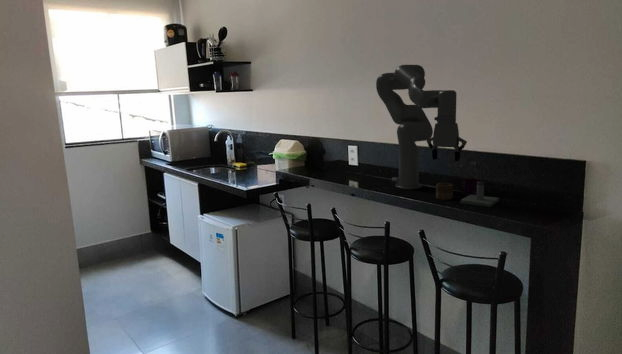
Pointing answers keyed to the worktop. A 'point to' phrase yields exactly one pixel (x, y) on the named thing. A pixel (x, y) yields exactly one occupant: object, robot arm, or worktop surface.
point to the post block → (480, 197)
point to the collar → (444, 191)
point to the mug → (469, 186)
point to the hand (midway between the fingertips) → (445, 160)
